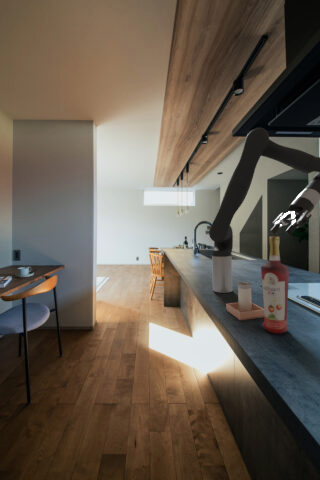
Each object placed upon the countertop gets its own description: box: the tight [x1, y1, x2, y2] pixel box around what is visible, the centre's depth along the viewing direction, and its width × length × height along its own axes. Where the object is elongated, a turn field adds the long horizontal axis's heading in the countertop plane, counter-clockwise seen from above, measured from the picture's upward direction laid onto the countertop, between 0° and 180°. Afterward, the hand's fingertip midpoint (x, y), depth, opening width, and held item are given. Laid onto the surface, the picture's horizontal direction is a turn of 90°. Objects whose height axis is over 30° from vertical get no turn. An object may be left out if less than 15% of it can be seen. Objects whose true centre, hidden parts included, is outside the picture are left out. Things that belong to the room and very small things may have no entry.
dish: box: [225, 301, 264, 321], centre depth 81 cm, size 10×10×2 cm
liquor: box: [260, 236, 290, 335], centre depth 66 cm, size 7×7×28 cm
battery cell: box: [237, 281, 253, 312], centre depth 80 cm, size 4×4×11 cm
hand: (279, 233), depth 87 cm, fingers open, 8 cm apart
